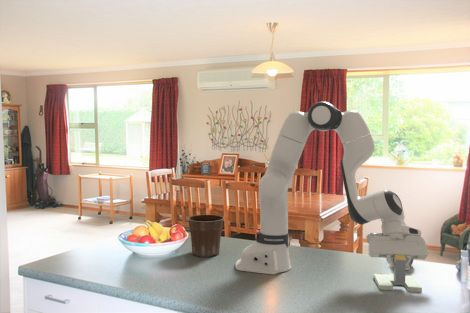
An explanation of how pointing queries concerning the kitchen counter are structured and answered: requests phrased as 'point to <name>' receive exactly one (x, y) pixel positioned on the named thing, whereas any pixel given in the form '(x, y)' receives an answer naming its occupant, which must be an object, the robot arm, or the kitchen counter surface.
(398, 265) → the grey and yellow block
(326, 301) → the kitchen counter surface
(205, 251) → the plant pot
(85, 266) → the kitchen counter surface
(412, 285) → the notched board
